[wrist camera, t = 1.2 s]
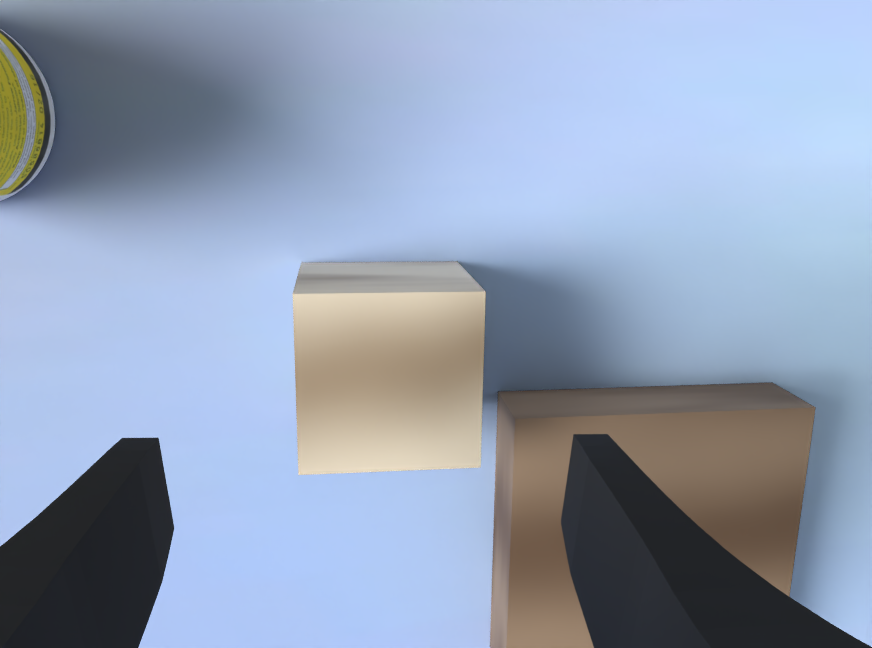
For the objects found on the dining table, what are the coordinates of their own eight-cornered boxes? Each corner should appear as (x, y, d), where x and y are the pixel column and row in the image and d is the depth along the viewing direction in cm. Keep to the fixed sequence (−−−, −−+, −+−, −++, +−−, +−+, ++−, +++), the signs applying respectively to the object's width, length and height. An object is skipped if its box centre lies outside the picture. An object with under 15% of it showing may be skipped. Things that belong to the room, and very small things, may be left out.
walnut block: (736, 619, 30) (779, 671, 27) (487, 638, 29) (504, 694, 26) (765, 378, 28) (815, 407, 25) (495, 387, 27) (514, 419, 24)
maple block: (453, 405, 26) (480, 467, 21) (305, 410, 26) (298, 475, 21) (456, 261, 25) (485, 291, 20) (301, 262, 24) (292, 293, 20)
